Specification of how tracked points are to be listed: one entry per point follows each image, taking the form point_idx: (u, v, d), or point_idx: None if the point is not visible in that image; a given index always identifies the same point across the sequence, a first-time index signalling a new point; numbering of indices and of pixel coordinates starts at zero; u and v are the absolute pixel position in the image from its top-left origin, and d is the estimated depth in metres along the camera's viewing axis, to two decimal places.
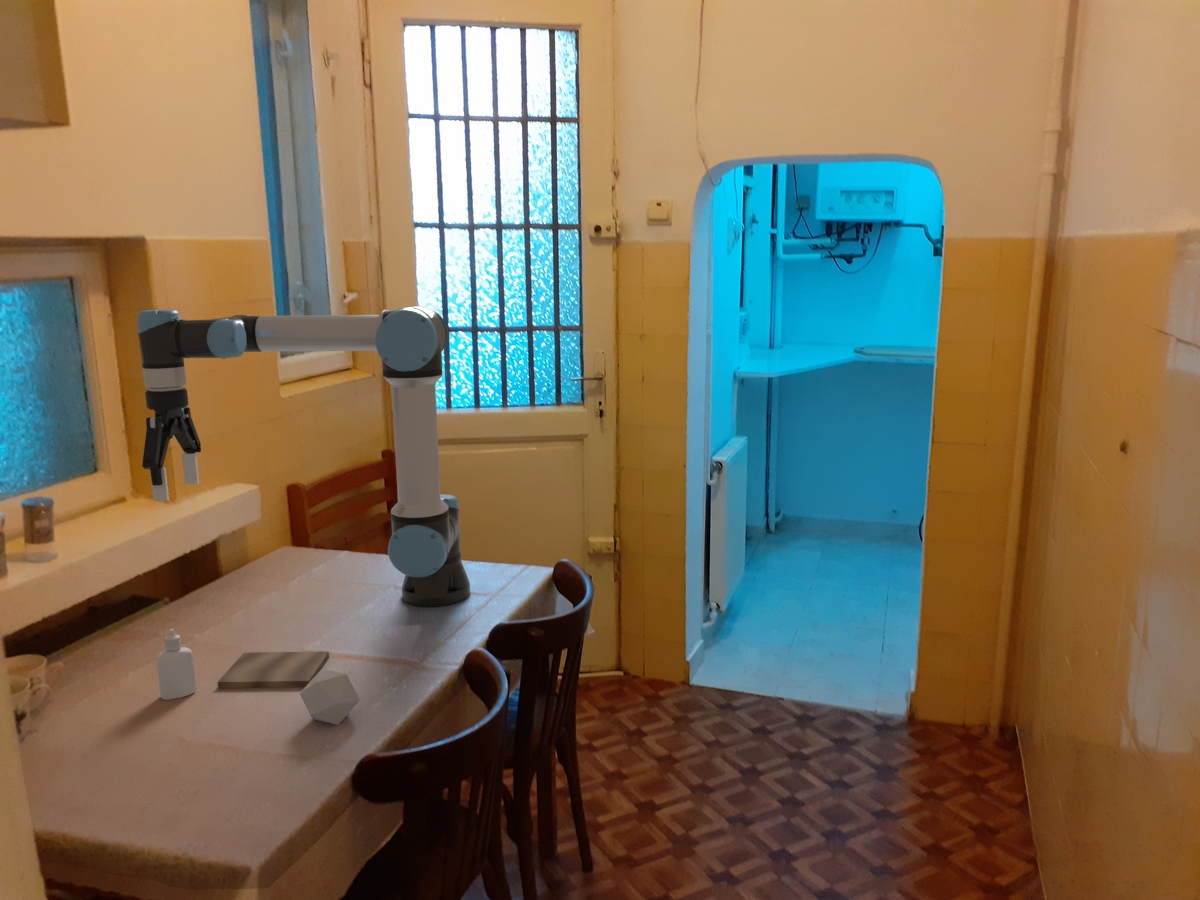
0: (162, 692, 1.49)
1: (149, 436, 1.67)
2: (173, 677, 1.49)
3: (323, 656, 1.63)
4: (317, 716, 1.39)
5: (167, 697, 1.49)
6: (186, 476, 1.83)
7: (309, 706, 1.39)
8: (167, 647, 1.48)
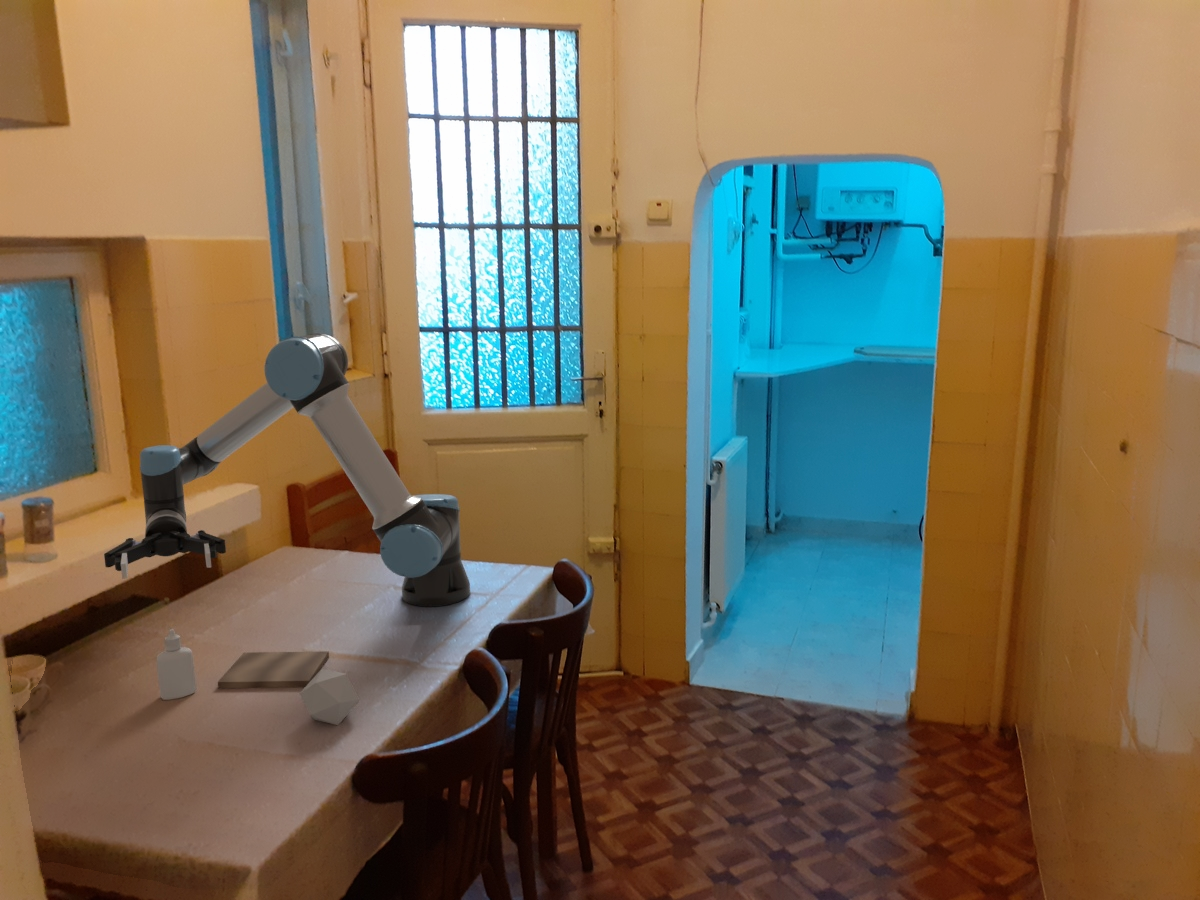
0: (162, 692, 1.49)
1: None
2: (173, 677, 1.49)
3: (323, 656, 1.63)
4: (317, 716, 1.39)
5: (167, 697, 1.49)
6: None
7: (309, 706, 1.39)
8: (167, 647, 1.48)
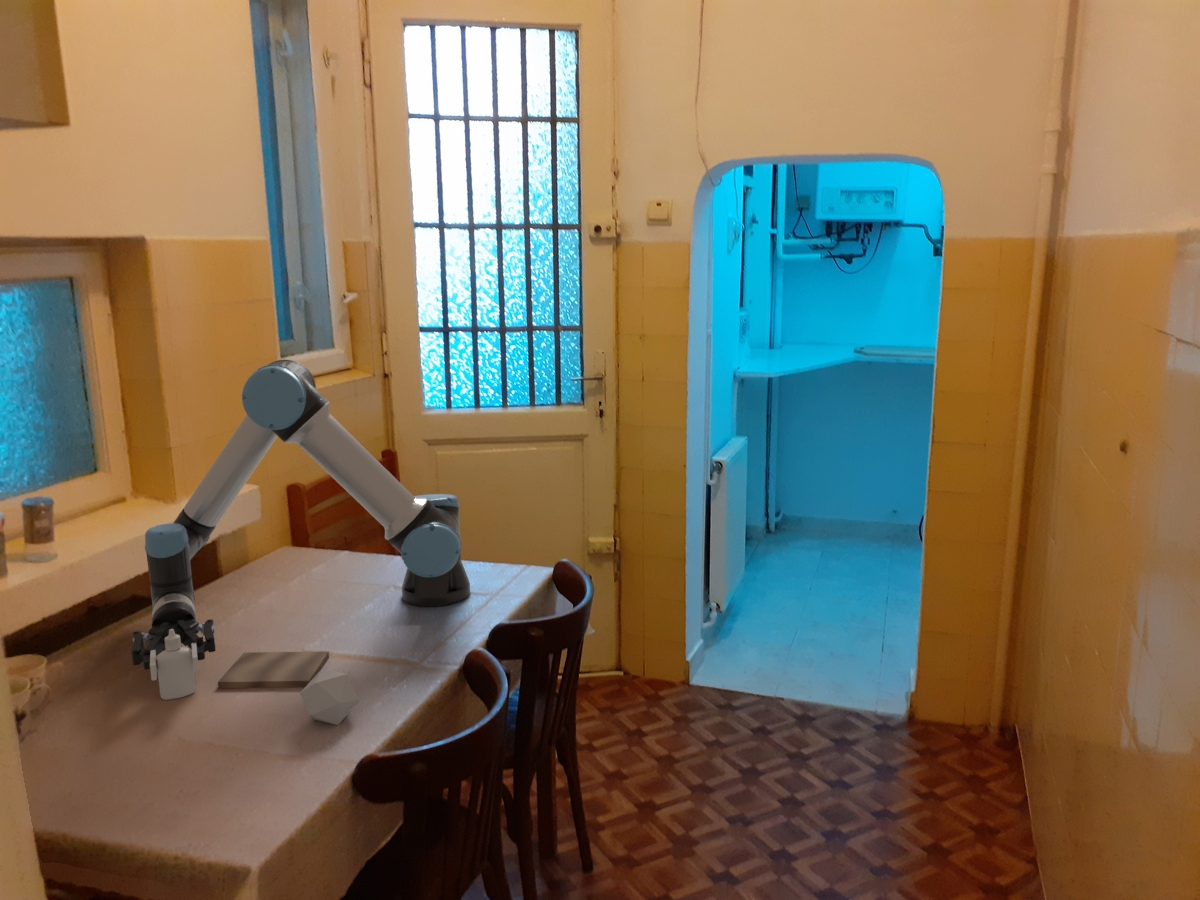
0: (162, 692, 1.49)
1: None
2: (173, 677, 1.49)
3: (323, 656, 1.63)
4: (317, 716, 1.39)
5: (167, 697, 1.49)
6: None
7: (309, 706, 1.39)
8: (167, 647, 1.48)
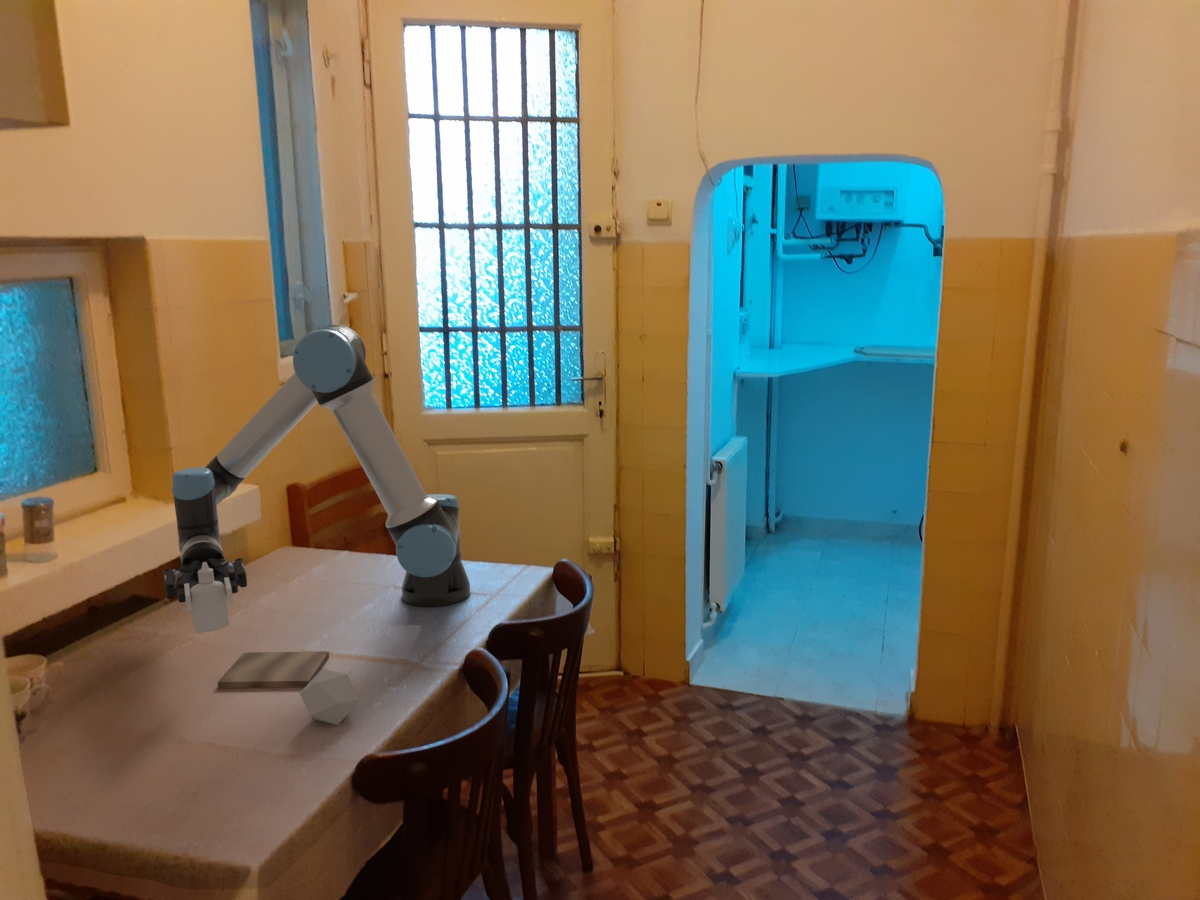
0: (196, 625, 1.50)
1: None
2: (206, 609, 1.50)
3: (323, 656, 1.63)
4: (317, 716, 1.39)
5: (201, 630, 1.50)
6: (227, 598, 1.49)
7: (309, 706, 1.39)
8: (200, 580, 1.50)
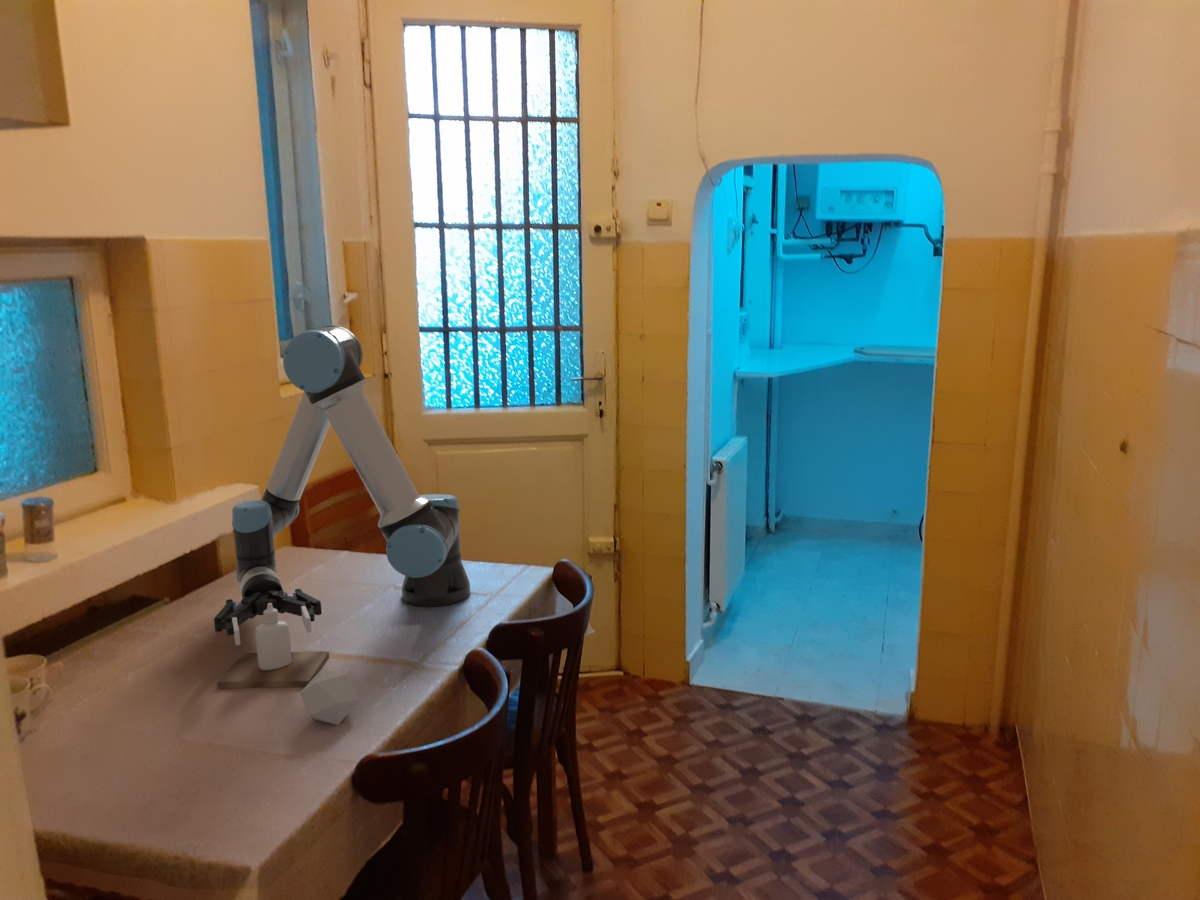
0: (261, 663, 1.57)
1: None
2: (271, 648, 1.57)
3: (323, 656, 1.63)
4: (317, 716, 1.39)
5: (266, 668, 1.57)
6: (305, 626, 1.58)
7: (309, 706, 1.39)
8: (266, 620, 1.56)
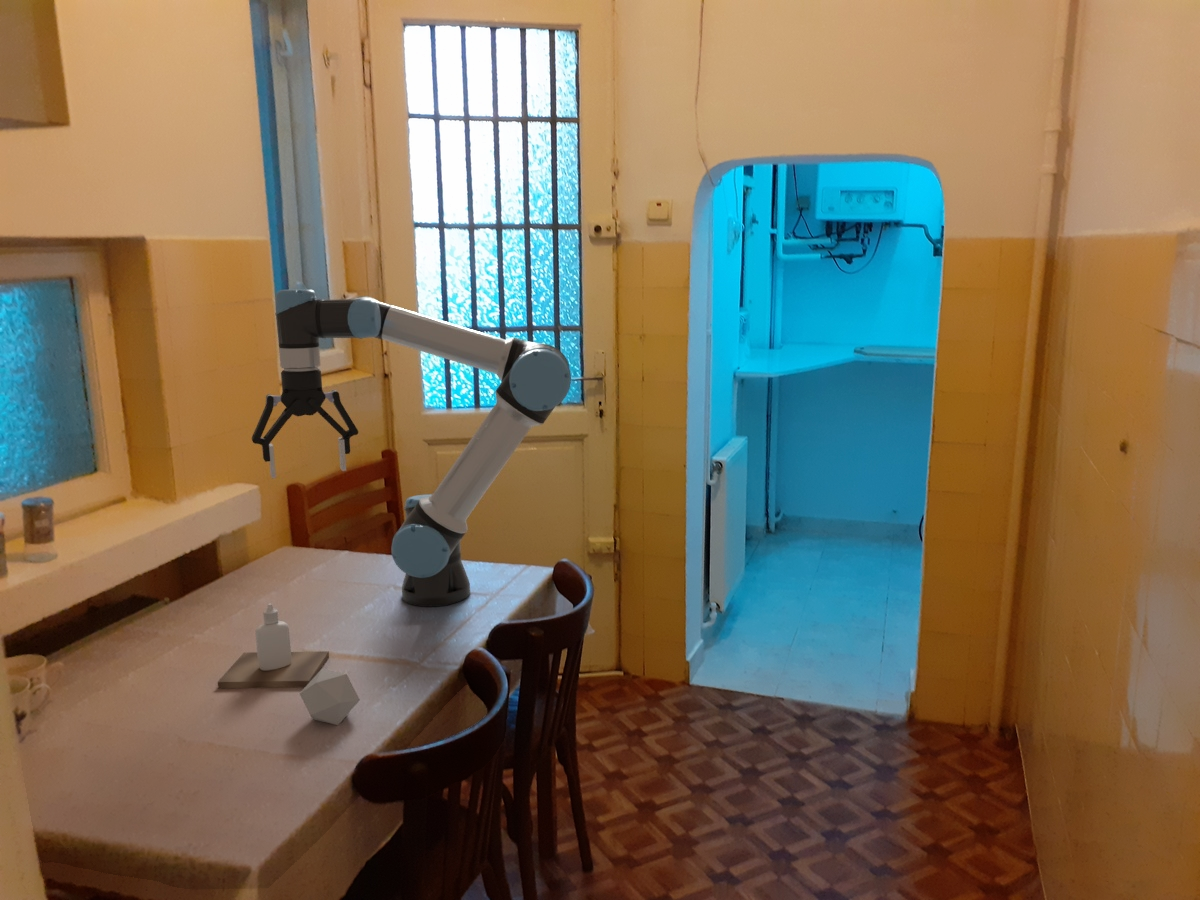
0: (261, 663, 1.57)
1: (262, 413, 1.71)
2: (271, 649, 1.57)
3: (323, 656, 1.63)
4: (317, 716, 1.39)
5: (266, 668, 1.57)
6: (340, 461, 1.80)
7: (309, 706, 1.39)
8: (266, 620, 1.56)
